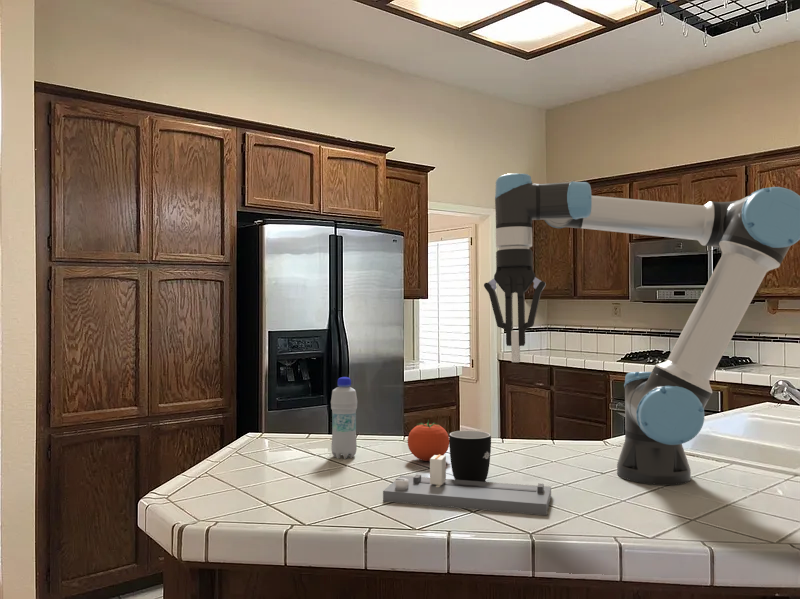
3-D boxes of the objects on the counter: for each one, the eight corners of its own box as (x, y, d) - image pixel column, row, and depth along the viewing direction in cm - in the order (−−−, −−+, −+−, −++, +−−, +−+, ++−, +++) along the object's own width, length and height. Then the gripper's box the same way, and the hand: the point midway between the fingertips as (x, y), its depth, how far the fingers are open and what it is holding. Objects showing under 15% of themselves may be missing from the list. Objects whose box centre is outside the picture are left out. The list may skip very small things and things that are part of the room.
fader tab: (445, 480, 135) (445, 454, 135) (441, 484, 132) (441, 458, 132) (434, 479, 136) (434, 454, 136) (430, 484, 132) (429, 457, 132)
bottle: (362, 455, 167) (362, 376, 168) (346, 461, 162) (346, 378, 162) (341, 452, 171) (341, 374, 171) (325, 457, 165) (325, 377, 166)
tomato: (458, 462, 160) (458, 420, 160) (424, 468, 155) (423, 425, 155) (432, 454, 169) (432, 414, 169) (399, 459, 163) (399, 419, 163)
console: (551, 496, 131) (551, 478, 131) (546, 515, 120) (546, 494, 120) (400, 485, 140) (400, 467, 140) (383, 501, 129) (383, 481, 129)
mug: (488, 488, 137) (488, 439, 138) (445, 485, 140) (445, 437, 140) (495, 474, 149) (495, 428, 149) (455, 471, 151) (455, 427, 151)
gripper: (547, 249, 141) (548, 360, 141) (485, 251, 144) (487, 360, 144) (544, 246, 134) (546, 363, 133) (480, 248, 137) (482, 363, 137)
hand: (516, 361), depth 139 cm, fingers closed
